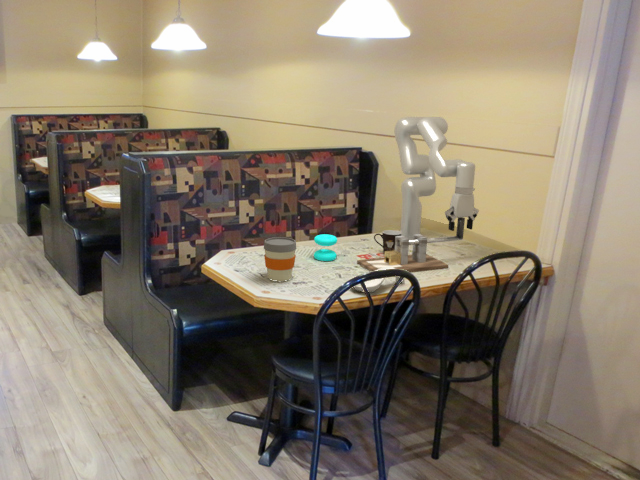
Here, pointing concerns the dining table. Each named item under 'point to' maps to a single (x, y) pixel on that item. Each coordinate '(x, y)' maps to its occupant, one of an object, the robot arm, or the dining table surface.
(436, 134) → the robot arm
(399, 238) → the wooden base with brackets
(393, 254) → the block
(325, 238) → the turquoise hourglass
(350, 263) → the dining table surface
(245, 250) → the dining table surface
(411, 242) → the shaft
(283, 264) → the reusable coffee cup
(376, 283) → the spoon rest
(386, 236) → the coffee mug
